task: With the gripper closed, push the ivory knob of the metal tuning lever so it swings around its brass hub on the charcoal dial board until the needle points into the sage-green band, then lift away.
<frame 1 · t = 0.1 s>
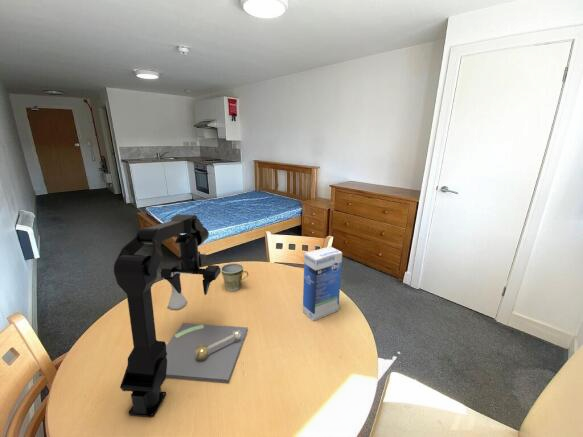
hand: (192, 293, 91), 15 cm above the table, fingers open, 9 cm apart
tuning lever: (219, 343, 84), point 3 cm above the table, hinge at -45.0°
flask: (177, 305, 109), on the table
ceramic cup: (236, 288, 123), on the table
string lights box: (320, 312, 107), on the table
dial board: (203, 350, 85), on the table
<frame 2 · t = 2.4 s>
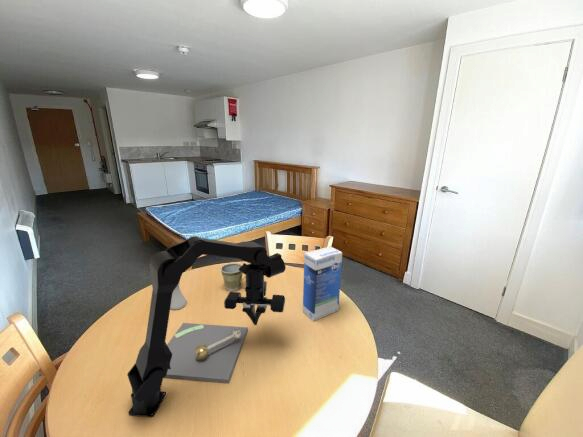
hand: (255, 324, 87), 8 cm above the table, fingers closed
nothing on the table moved.
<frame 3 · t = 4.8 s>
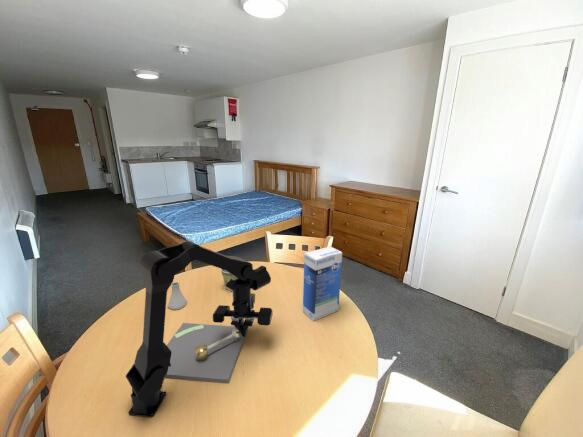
hand: (244, 336, 89), 2 cm above the table, fingers closed
tuning lever: (219, 343, 84), point 3 cm above the table, hinge at -43.4°, touching gripper
everything else where it was.
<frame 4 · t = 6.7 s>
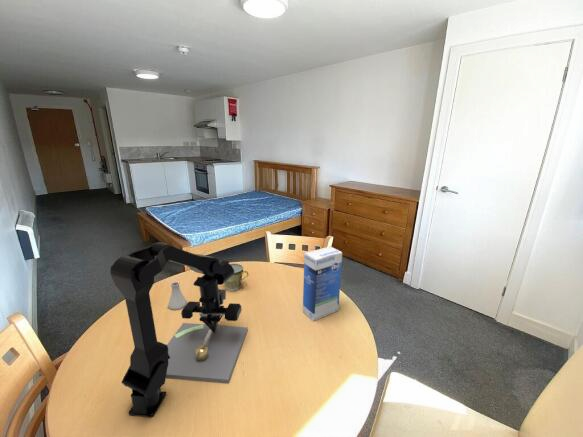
hand: (214, 331, 90), 3 cm above the table, fingers closed
tuning lever: (207, 339, 86), point 3 cm above the table, hinge at 5.3°, touching gripper
everything else where it was.
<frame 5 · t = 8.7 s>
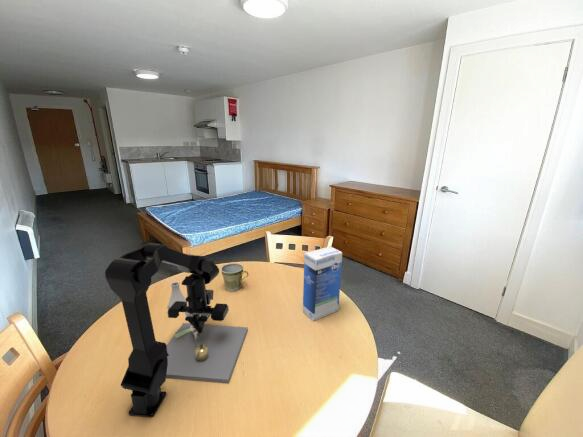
hand: (200, 332, 90), 3 cm above the table, fingers closed
tuning lever: (198, 340, 85), point 3 cm above the table, hinge at 34.4°
everything else where it was.
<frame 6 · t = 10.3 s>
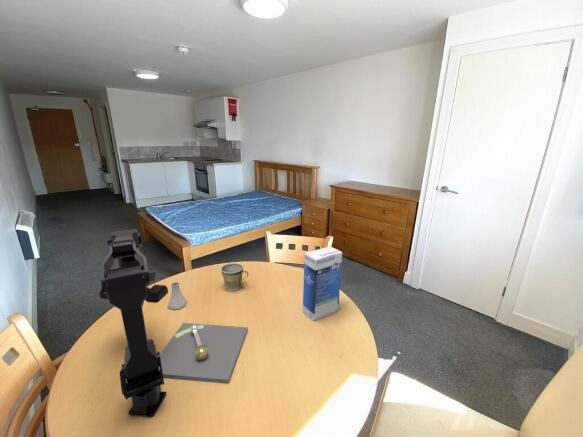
hand: (138, 315, 83), 12 cm above the table, fingers closed
nothing on the table moved.
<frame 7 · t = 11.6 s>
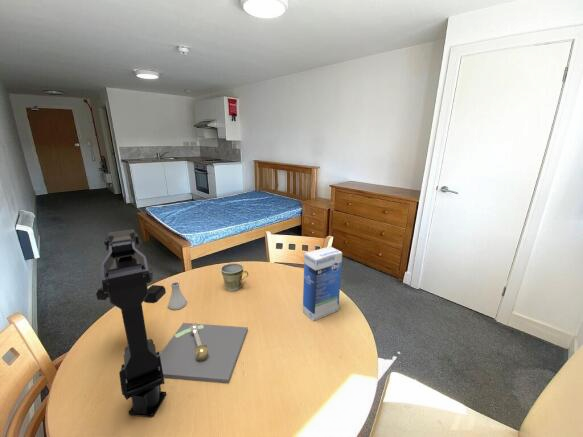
hand: (135, 316, 83), 12 cm above the table, fingers closed
nothing on the table moved.
at the end: tuning lever at +34° (first picture: -45°); flask moved 0.3 cm from its start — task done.
